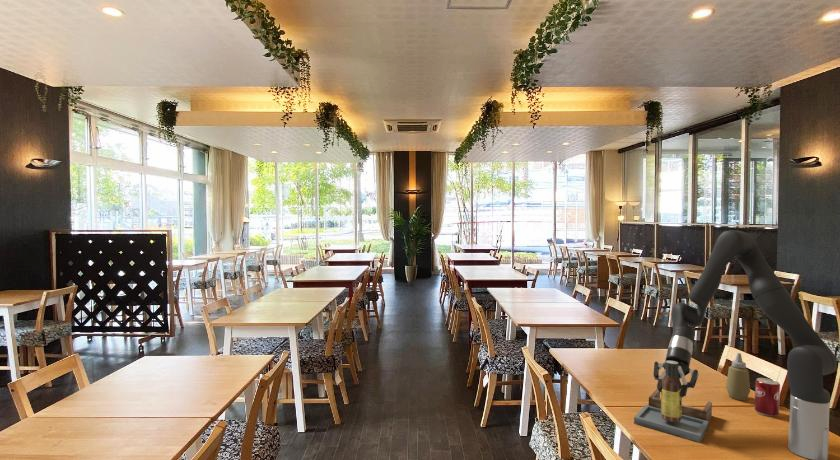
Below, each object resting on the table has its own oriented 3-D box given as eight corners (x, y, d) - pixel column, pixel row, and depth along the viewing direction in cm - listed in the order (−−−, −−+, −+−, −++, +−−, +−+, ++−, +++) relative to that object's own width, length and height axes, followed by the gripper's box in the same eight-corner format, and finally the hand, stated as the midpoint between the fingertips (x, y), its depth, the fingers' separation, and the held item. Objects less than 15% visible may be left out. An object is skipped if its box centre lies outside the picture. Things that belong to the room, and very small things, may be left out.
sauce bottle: (684, 424, 154) (686, 366, 153) (664, 422, 155) (665, 364, 155) (677, 416, 160) (679, 360, 160) (658, 414, 162) (659, 358, 161)
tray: (708, 427, 157) (708, 421, 157) (700, 442, 146) (700, 435, 146) (645, 410, 170) (645, 404, 170) (633, 423, 159) (634, 417, 159)
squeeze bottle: (720, 395, 186) (722, 351, 185) (733, 392, 189) (734, 349, 188) (742, 403, 178) (743, 357, 178) (754, 399, 182) (756, 355, 181)
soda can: (756, 414, 168) (757, 382, 168) (752, 407, 174) (753, 376, 174) (781, 418, 165) (782, 385, 164) (776, 411, 171) (777, 379, 171)
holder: (711, 415, 166) (712, 402, 166) (705, 426, 158) (706, 411, 158) (656, 401, 179) (656, 389, 178) (648, 410, 170) (648, 397, 170)
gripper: (656, 342, 168) (646, 382, 159) (701, 350, 158) (693, 393, 150) (659, 353, 172) (649, 393, 163) (703, 361, 163) (696, 404, 154)
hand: (670, 393), depth 157 cm, fingers closed on sauce bottle, 6 cm apart
